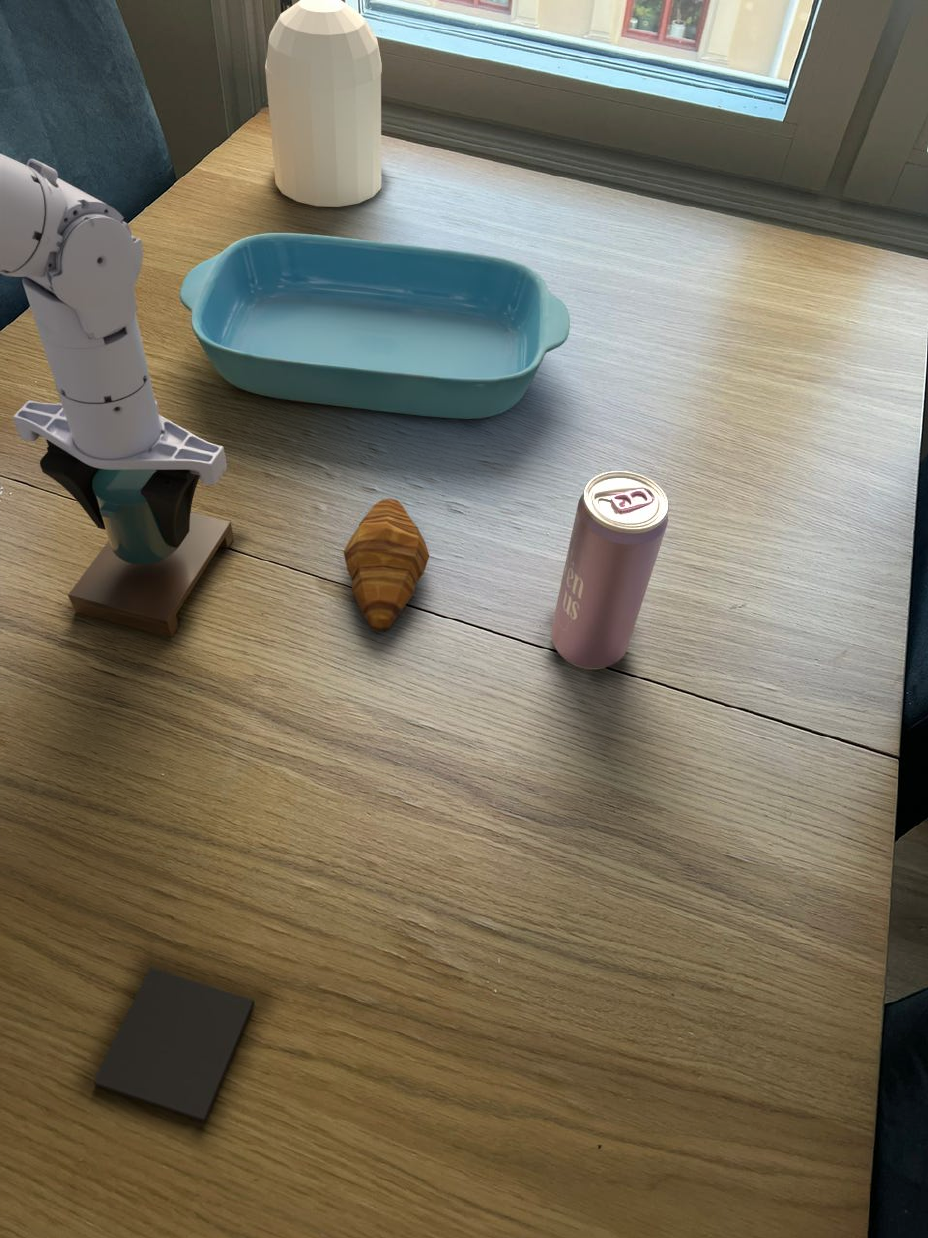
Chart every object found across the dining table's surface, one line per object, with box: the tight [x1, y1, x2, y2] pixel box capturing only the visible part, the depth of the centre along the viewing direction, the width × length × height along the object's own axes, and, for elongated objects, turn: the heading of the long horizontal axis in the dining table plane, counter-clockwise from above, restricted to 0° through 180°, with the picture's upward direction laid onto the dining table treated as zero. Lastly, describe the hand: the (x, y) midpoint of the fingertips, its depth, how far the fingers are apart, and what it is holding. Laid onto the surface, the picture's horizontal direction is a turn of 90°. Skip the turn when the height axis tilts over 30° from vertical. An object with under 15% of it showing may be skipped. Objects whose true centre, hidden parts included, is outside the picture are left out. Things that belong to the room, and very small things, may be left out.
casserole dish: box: [179, 232, 571, 420], centre depth 91 cm, size 37×22×7 cm, turn 86°
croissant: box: [343, 498, 430, 632], centre depth 73 cm, size 14×7×5 cm, turn 0°
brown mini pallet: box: [67, 511, 234, 638], centre depth 73 cm, size 8×11×2 cm
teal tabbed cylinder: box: [92, 469, 177, 564], centre depth 69 cm, size 5×8×6 cm
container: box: [264, 0, 383, 208], centre depth 110 cm, size 13×13×20 cm
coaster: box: [92, 967, 255, 1122], centre depth 51 cm, size 6×6×1 cm
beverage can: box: [550, 470, 670, 670], centre depth 66 cm, size 6×6×15 cm
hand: (144, 529), depth 70 cm, fingers closed on teal tabbed cylinder, 5 cm apart
